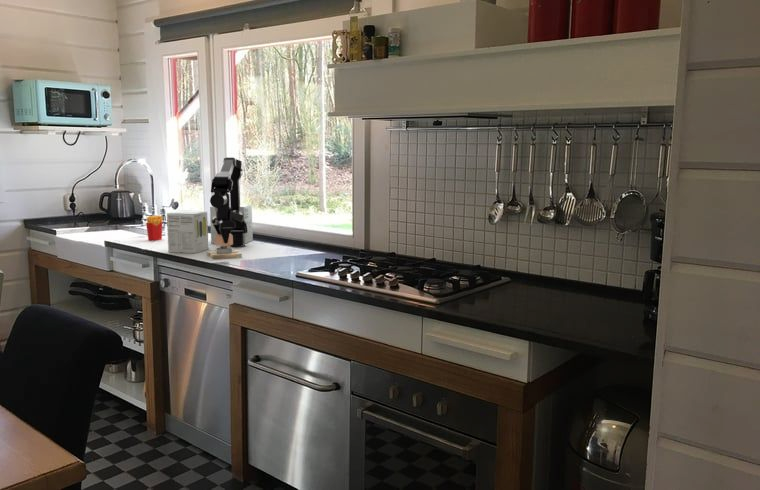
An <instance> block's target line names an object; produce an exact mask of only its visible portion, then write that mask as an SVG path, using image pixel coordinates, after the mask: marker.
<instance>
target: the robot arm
mask: <svg viewBox="0 0 760 490" xmlns="http://www.w3.org/2000/svg"><path fill="white" fill-rule="evenodd" d="M244 168H245V165H244V163H243V161H242V160H240V159H237V158H236V157H233V156H232V157H229V156H226V157H224V158H223V163H222V167H221V168H220V171H219V172H218V173H215V175H214V177H213V178H212V180H211V188H210V193H212V194H213V195H212V196H210V200H209V202H210V206H213V207H215V210H216V217H213V218H212V224H213V226H214V228H215V230H216V232H217V234H221V235H222V238H223V240H224V243H228V238H229V234H230V233H231V235H233V245H229V247H232V248H237V247H246V246H247V245H246V244H244V240H243V233H244V234H245V233H248V230H247V224H246V222H245V221H244V215H243V214H242V213H241V211H240V205H241V194H240V193H241V191H240V190H241V188H240V181H241V177H242V176H243V175H244V174H243V172H244V170H245V169H244ZM214 223H215V224H214ZM231 230H244V231H231Z"/></svg>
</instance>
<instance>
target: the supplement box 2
mask: <svg viewBox="0 0 760 490" xmlns="http://www.w3.org/2000/svg"><path fill="white" fill-rule="evenodd" d="M252 207H253V205H252V204H240V211H241V213H242V214H243V215H244V221H245V222H246V224H247V230H248V233H245V234H244V233H243V240H244V244H245V245H246V244H247V243H249V242H252V241H253V240H254V236H253V212H252V211H253V208H252ZM209 215H210V216H209V217H210V218H209V219H210V243H211V244H215V235H218V234H217V232H216V230H215V228H214V226H213V224H212V218H213V217H216V210H215V207H213V206H212V205H210V206H209ZM214 224H215V223H214ZM231 231H244V230H231ZM230 234H231V233H230Z"/></svg>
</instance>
